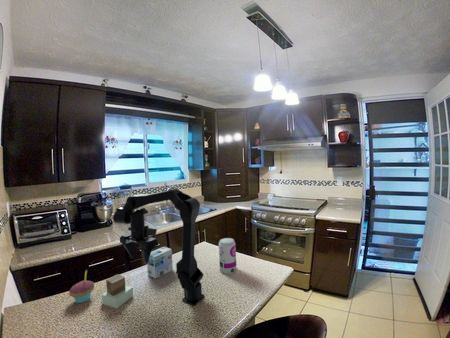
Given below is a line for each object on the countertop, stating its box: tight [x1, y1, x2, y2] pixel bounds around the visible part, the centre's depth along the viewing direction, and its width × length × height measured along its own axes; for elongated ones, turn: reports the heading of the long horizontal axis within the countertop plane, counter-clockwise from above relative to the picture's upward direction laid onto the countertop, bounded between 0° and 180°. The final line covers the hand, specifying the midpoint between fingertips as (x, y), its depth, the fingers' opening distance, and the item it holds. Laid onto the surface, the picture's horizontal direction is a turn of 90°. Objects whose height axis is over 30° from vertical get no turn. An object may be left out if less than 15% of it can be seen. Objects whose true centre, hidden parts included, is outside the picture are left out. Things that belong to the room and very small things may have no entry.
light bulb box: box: [146, 246, 174, 280], centre depth 107 cm, size 11×7×11 cm, turn 143°
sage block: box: [101, 284, 134, 309], centre depth 87 cm, size 8×8×4 cm
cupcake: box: [68, 268, 95, 304], centre depth 88 cm, size 9×8×12 cm
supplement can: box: [218, 237, 238, 275], centre depth 106 cm, size 8×8×15 cm
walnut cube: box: [105, 273, 126, 296], centre depth 87 cm, size 5×5×5 cm
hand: (139, 260), depth 92 cm, fingers open, 9 cm apart
